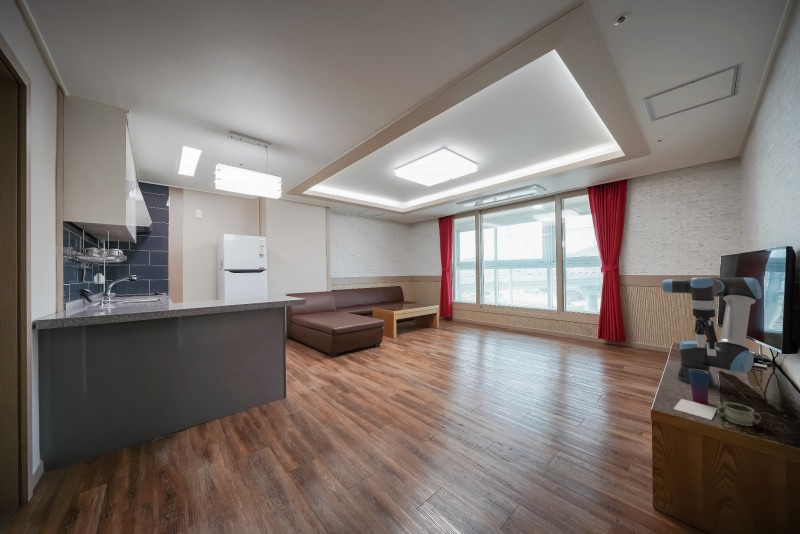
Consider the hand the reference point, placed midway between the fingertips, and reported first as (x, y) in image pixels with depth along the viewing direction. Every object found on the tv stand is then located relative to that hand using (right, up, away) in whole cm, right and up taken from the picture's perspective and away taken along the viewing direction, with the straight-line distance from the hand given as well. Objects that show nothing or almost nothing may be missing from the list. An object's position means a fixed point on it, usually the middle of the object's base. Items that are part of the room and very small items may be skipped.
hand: (706, 351), depth 136 cm
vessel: (-5, -25, -18) cm, 31 cm away
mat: (-13, -25, -7) cm, 29 cm away
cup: (-3, -25, 0) cm, 25 cm away
